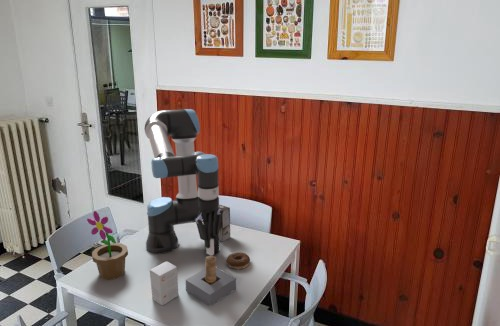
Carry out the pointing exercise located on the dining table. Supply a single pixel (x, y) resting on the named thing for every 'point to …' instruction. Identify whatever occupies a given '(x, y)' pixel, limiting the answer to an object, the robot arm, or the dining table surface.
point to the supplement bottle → (216, 246)
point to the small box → (164, 282)
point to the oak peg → (210, 269)
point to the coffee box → (224, 223)
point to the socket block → (210, 286)
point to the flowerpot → (108, 251)
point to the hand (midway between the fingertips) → (210, 253)
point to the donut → (238, 260)
